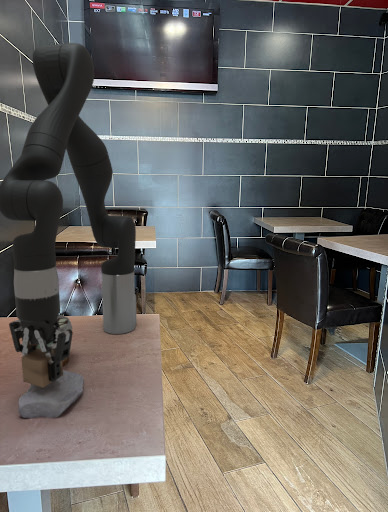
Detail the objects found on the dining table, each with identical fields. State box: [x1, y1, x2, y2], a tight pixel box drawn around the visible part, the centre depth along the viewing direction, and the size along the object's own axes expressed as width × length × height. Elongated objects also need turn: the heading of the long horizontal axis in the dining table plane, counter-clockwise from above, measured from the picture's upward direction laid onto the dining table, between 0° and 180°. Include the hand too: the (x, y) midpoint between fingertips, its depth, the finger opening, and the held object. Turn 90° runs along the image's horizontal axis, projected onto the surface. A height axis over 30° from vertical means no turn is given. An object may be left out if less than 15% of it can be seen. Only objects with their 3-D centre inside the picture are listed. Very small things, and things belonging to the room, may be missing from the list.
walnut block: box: [21, 348, 64, 388], centre depth 70 cm, size 5×5×5 cm
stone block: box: [17, 369, 85, 419], centre depth 71 cm, size 12×5×10 cm
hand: (43, 375), depth 70 cm, fingers closed on walnut block, 5 cm apart
